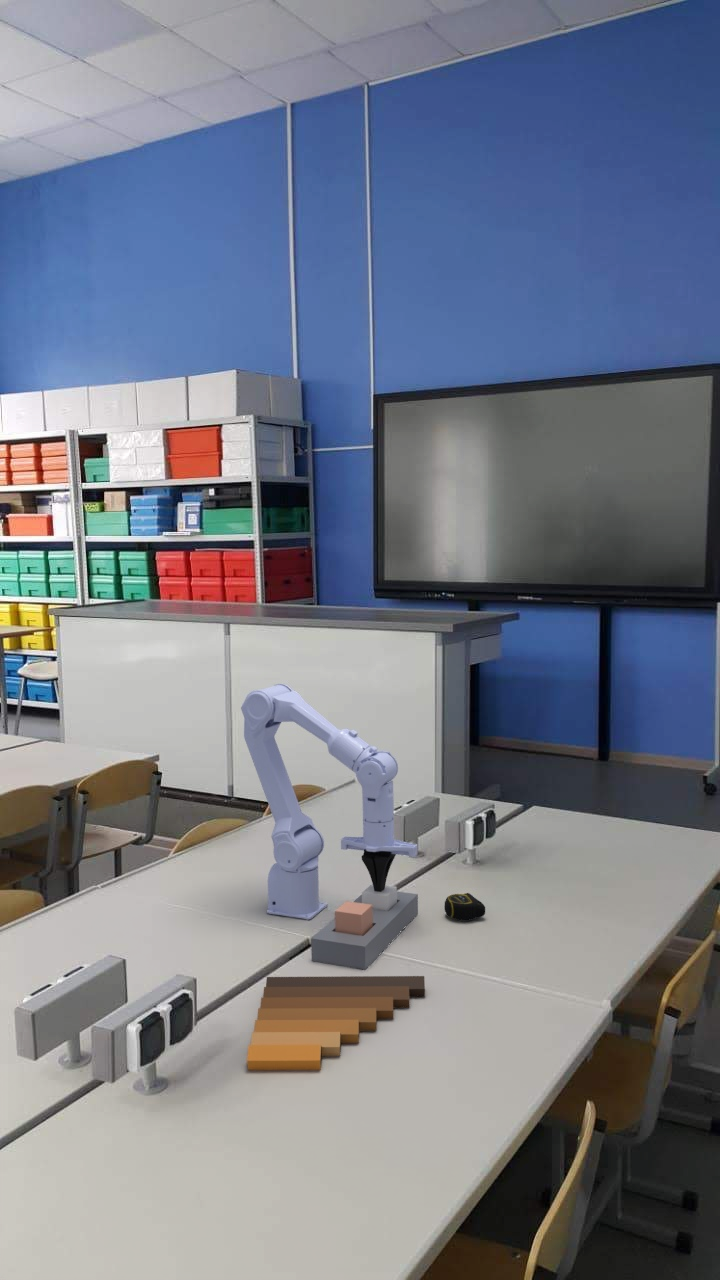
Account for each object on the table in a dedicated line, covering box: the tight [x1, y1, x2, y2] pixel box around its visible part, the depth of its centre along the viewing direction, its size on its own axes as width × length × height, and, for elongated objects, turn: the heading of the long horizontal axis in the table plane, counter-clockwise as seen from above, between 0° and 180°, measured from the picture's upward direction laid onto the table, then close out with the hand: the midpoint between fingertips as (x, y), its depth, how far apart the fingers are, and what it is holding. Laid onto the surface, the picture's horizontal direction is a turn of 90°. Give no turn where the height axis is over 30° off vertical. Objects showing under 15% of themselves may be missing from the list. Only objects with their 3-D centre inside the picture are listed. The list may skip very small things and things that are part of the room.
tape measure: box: [444, 892, 486, 921], centre depth 190 cm, size 7×7×4 cm
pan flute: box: [246, 975, 426, 1071], centre depth 149 cm, size 25×3×25 cm
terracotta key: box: [334, 900, 373, 936], centre depth 176 cm, size 5×5×4 cm
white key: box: [361, 883, 398, 911], centre depth 187 cm, size 5×5×4 cm
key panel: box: [310, 891, 419, 970], centre depth 182 cm, size 10×26×4 cm, turn 157°
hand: (379, 889), depth 187 cm, fingers closed, pressing on white key
